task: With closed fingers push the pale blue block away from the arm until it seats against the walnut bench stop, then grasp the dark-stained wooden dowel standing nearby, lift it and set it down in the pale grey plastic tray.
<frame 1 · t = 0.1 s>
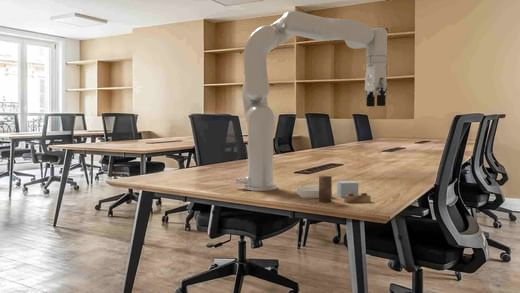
hand: (375, 106, 165), 31 cm above the table, fingers open, 9 cm apart
pale blue block: (347, 196, 145), on the table
tray: (313, 195, 146), on the table
dowel: (325, 201, 137), on the table
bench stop: (357, 201, 136), on the table
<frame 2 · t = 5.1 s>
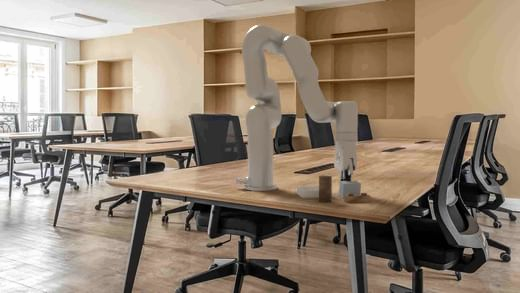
hand: (345, 190, 148), 2 cm above the table, fingers closed
pale blue block: (349, 196, 144), on the table, touching gripper
everything else where it was.
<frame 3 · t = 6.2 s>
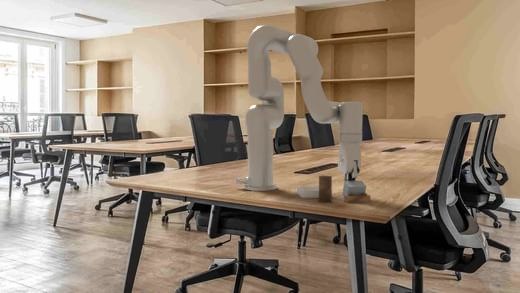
hand: (349, 193, 143), 1 cm above the table, fingers closed
pale blue block: (353, 197, 140), point 1 cm above the table, tilted 19°
everything else where it was.
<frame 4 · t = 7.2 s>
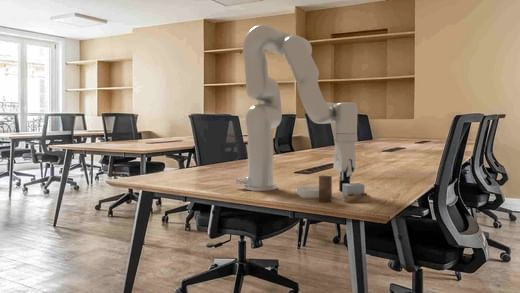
hand: (344, 191, 147), 1 cm above the table, fingers closed
pale blue block: (353, 199, 140), on the table
everything else where it was.
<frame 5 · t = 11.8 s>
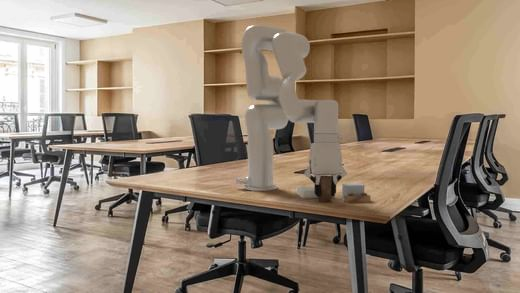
hand: (325, 195, 136), 2 cm above the table, fingers closed on dowel, 4 cm apart
dowel: (325, 201, 137), on the table, touching gripper
everything else where it was.
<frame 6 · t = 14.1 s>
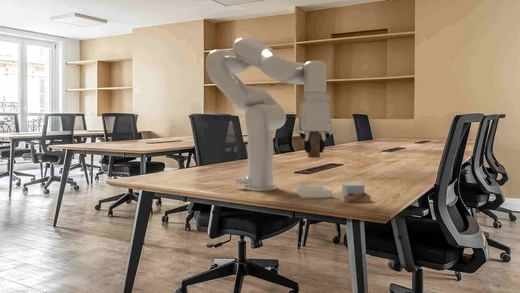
hand: (314, 151, 145), 15 cm above the table, fingers closed on dowel, 4 cm apart
dowel: (314, 157, 145), point 13 cm above the table, touching gripper
everything else where it was.
when the fingers open (3 cm above the table, at t = 16.5 s): dowel stays where it is, resting on tray.
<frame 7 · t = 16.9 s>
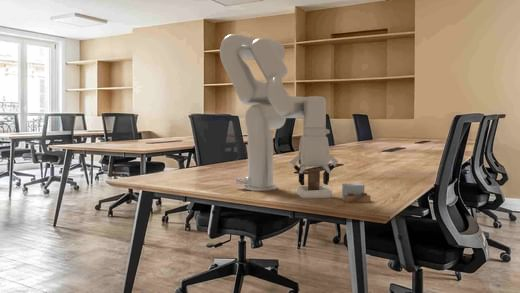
hand: (313, 184, 146), 4 cm above the table, fingers open, 7 cm apart
dowel: (313, 193, 146), point 1 cm above the table, touching tray
everything else where it was.
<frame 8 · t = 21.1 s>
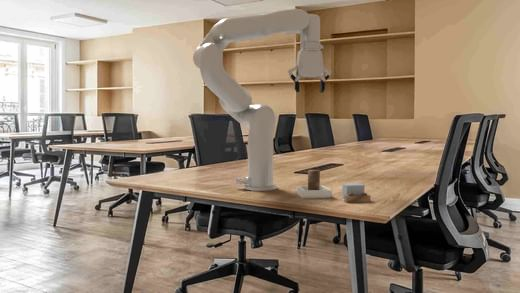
hand: (309, 92, 166), 36 cm above the table, fingers open, 9 cm apart
nothing on the table moved.
at the end: dowel inside the target area on the tray (0.0 cm from its centre), point 0.6 cm above the tray's base; pale blue block 0.8 cm from the target spot, on the table; the gripper is holding nothing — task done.
